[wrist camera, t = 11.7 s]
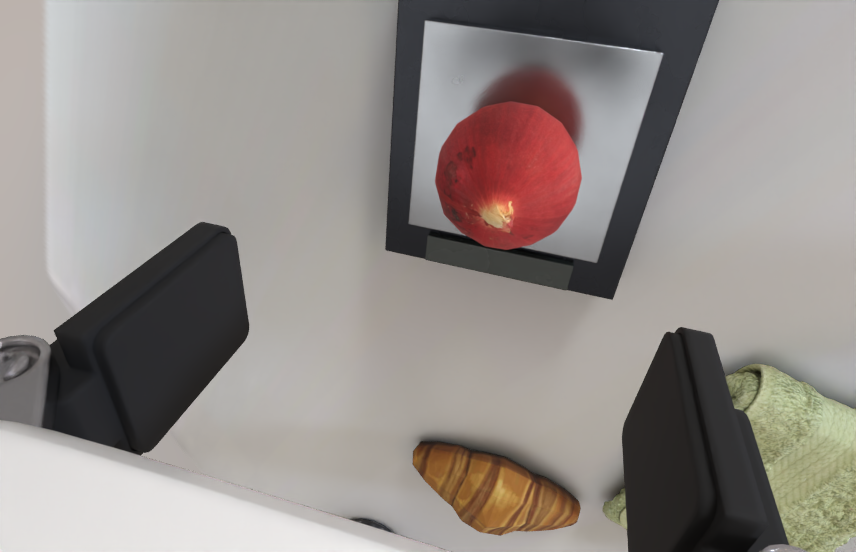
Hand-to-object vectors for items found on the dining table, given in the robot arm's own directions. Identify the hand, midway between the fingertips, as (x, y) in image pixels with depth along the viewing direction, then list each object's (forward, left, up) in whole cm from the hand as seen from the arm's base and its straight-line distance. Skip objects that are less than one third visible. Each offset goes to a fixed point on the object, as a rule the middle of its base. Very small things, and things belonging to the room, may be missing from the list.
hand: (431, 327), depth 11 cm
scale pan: (+1, 0, -16) cm, 16 cm away
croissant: (+28, +3, -19) cm, 34 cm away
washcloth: (+21, +19, -19) cm, 34 cm away
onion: (+1, 0, -16) cm, 16 cm away
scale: (+1, 0, -19) cm, 19 cm away
